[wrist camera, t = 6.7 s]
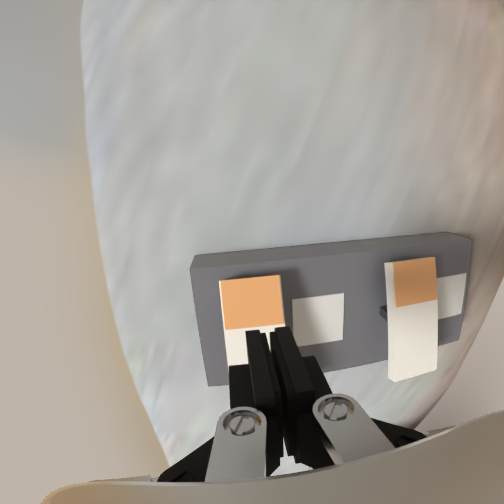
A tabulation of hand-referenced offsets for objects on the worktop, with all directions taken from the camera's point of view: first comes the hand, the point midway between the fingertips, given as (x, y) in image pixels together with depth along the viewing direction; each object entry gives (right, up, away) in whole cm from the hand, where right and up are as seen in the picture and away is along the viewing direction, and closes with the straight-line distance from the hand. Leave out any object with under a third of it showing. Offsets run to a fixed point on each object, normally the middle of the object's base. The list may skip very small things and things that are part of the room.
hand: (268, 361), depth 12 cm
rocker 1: (0, -2, +9) cm, 9 cm away
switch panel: (+7, 0, +16) cm, 18 cm away
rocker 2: (+12, -1, +10) cm, 15 cm away
